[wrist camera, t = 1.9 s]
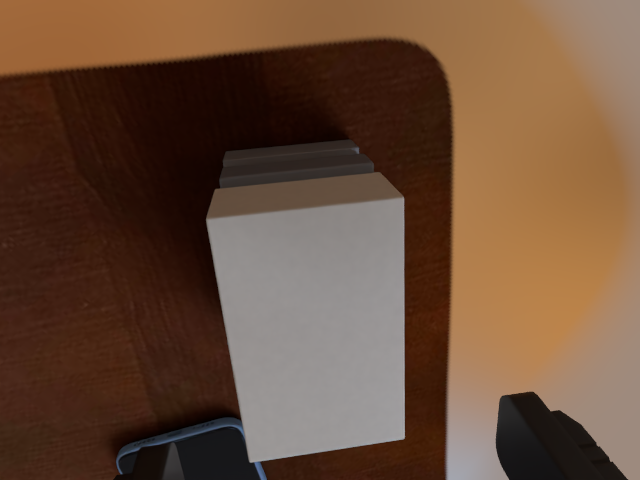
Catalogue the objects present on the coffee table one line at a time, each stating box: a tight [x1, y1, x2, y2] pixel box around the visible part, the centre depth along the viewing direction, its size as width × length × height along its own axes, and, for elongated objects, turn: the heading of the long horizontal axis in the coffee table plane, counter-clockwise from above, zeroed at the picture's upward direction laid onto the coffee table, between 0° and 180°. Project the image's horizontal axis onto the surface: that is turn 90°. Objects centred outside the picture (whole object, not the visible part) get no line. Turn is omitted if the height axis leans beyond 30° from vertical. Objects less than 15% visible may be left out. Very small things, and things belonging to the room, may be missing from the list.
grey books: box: [219, 139, 374, 189], centre depth 20 cm, size 10×6×5 cm, turn 4°
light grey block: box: [206, 172, 405, 463], centre depth 17 cm, size 10×6×3 cm, turn 4°
